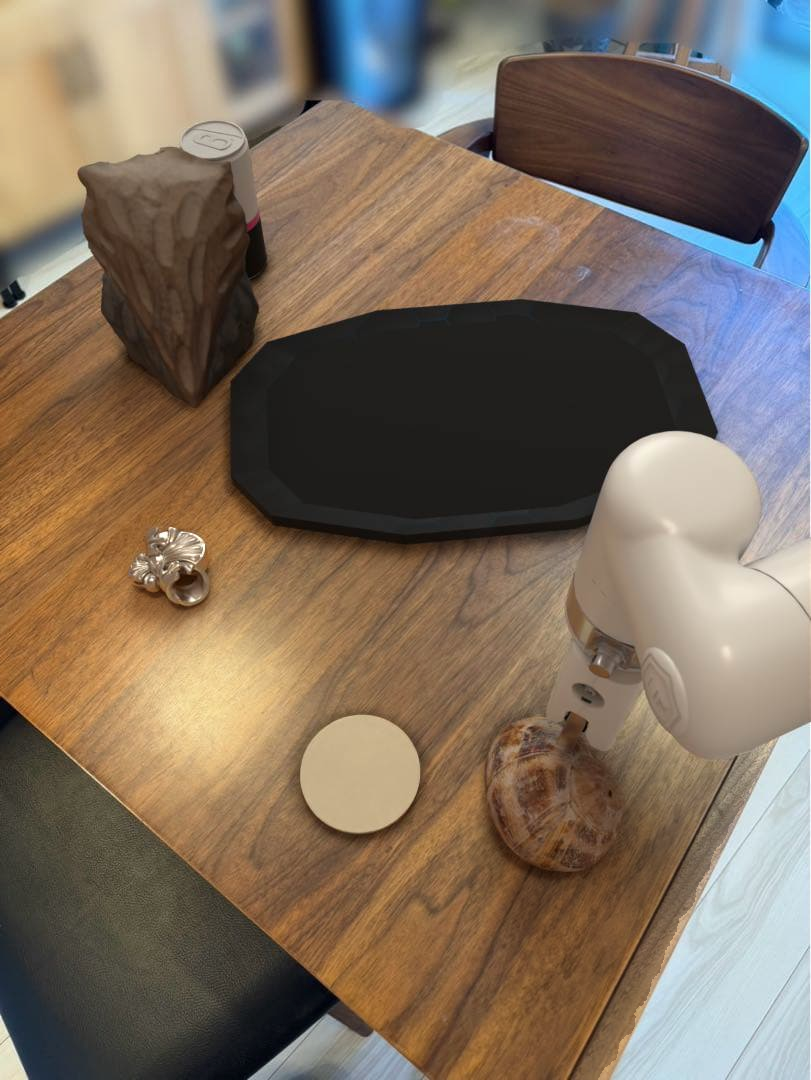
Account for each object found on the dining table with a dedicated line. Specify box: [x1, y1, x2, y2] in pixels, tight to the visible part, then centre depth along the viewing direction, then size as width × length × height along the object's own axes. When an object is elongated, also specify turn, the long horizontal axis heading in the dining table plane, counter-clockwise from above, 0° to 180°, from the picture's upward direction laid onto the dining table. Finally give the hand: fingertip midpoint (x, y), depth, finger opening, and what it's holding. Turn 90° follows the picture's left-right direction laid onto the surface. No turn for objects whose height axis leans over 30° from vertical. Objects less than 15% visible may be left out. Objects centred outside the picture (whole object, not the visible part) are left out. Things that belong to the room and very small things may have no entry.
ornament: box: [127, 525, 211, 607], centre depth 75 cm, size 8×7×4 cm
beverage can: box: [178, 119, 268, 280], centre depth 91 cm, size 7×6×15 cm
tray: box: [229, 298, 719, 545], centre depth 85 cm, size 45×28×2 cm, turn 96°
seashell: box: [484, 716, 625, 873], centre depth 63 cm, size 10×9×10 cm
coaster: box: [299, 714, 421, 835], centre depth 67 cm, size 9×9×1 cm
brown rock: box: [76, 146, 260, 409], centre depth 83 cm, size 13×13×20 cm
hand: (580, 716), depth 68 cm, fingers closed
